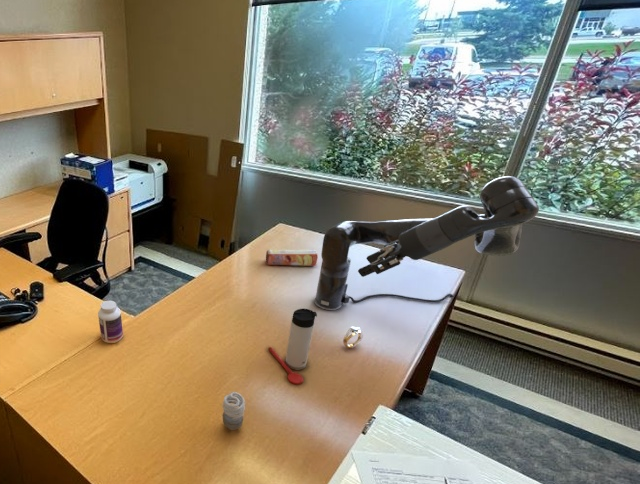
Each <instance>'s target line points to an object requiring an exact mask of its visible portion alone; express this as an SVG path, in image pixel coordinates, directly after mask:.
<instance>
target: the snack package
mask: <svg viewBox="0 0 640 484" xmlns="http://www.w3.org/2000/svg"><path fill="white" fill-rule="evenodd" d="M318 256H319V255H318V253H317V250H315V249H267V250H266V253H265V262H266V264H267V265H268V266H307V267H308V266H309V267H316V265H317V264H318Z"/></svg>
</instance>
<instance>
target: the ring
mask: <svg viewBox="0 0 640 484" xmlns="http://www.w3.org/2000/svg"><path fill="white" fill-rule="evenodd" d="M356 335H358V336H357V339H356V341H354V342H353V343H349V344H348V342H349V340H351V338H353V337H354V336H356ZM363 338H364V331H363V330H361V327H358V326H357V327H356V326H351V327H350V328H349V329H348V330H347V331H346V333H345V335H344V337H343V340H342V344H343V346H344V347H345V348H347V349H353V348H354V347H356V346H357V345H359V344H360V342H361V341H362V340H363Z"/></svg>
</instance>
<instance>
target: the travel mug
mask: <svg viewBox="0 0 640 484" xmlns="http://www.w3.org/2000/svg"><path fill="white" fill-rule="evenodd" d="M316 318H318V313H317V312H316V311H313V310H311V309H309V308H298V309H296V310H294V311H293V313H292V318H291V322H290V329H289V335H288V342H287V348H286V353H285V359H284V362H285V364H286V365H287V366H288V367H289V368H290V369H291V370H295V371H299V370H300V371H301V370H303V369H305V368H306V367H307V362H308V357H309V352H310V348H311V347H310V346H311V342H312V336H313V331H314V327H315V320H316Z"/></svg>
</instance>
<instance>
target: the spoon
mask: <svg viewBox="0 0 640 484" xmlns="http://www.w3.org/2000/svg"><path fill="white" fill-rule="evenodd" d="M268 351H269V352H270V353H271V355H273V357H274V358H275V359H276V360H277V361H278V363H279V364H280V365H281V366H282V367H283V368H284V370H285V371H286V372H287V373H288V375H287V381H288V383H291V384H293V385H295V386H296V385H297V386H299V385H302V384H303V382H304V377H303V375H301V374H300V373H298V372H293V371H292V368H290V367H288V366H287V364H286V362H285V360H283V359H282V358H281V356H280V355H279V354H278V353H277V352H276V351H275V350H274V349H273V347H271V346H269V347H268Z"/></svg>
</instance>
